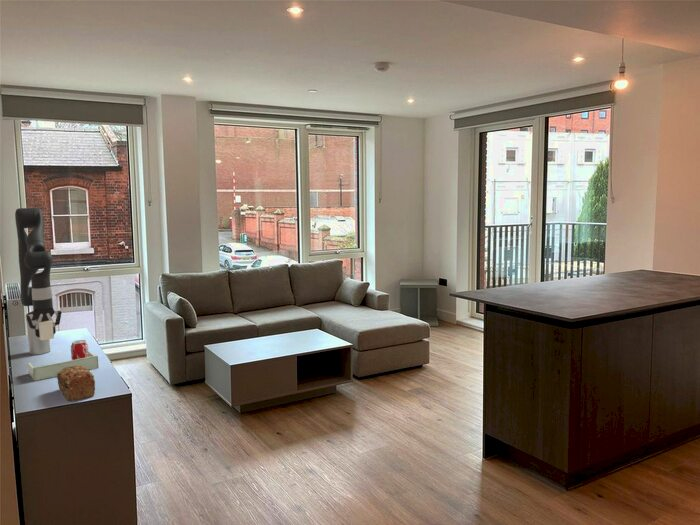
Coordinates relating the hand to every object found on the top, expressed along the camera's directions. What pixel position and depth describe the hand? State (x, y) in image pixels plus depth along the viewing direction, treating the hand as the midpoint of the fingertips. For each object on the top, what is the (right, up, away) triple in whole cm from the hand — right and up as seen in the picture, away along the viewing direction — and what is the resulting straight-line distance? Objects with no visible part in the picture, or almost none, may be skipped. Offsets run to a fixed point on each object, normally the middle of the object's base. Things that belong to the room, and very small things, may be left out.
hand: (45, 336), depth 241 cm
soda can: (+10, -16, +10) cm, 22 cm away
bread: (+25, -20, -23) cm, 39 cm away
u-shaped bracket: (+5, -16, +6) cm, 18 cm away
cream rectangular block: (0, -1, 0) cm, 1 cm away
